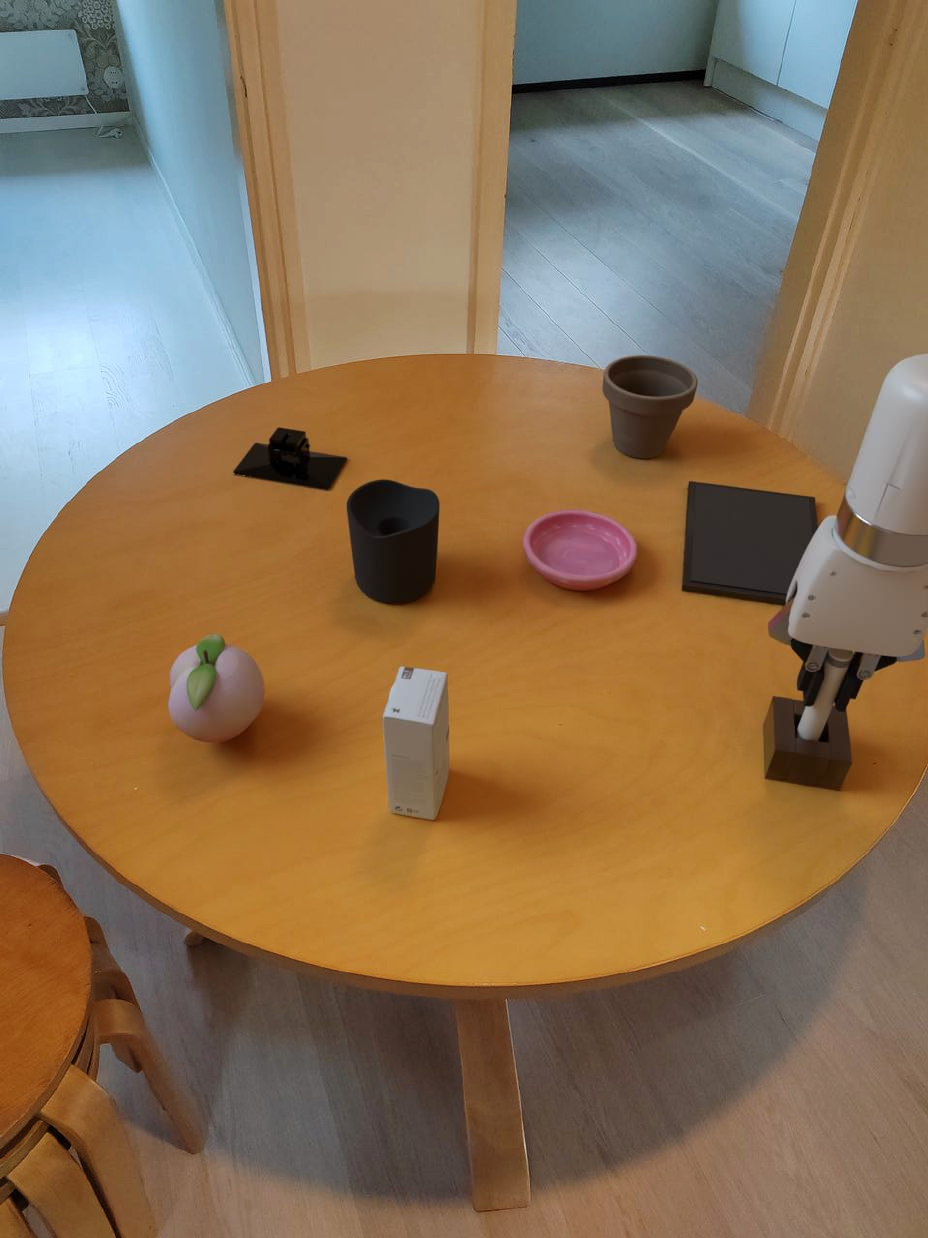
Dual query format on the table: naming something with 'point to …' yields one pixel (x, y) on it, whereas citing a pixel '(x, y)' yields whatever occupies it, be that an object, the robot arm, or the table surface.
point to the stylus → (825, 694)
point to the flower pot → (646, 401)
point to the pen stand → (805, 747)
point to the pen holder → (393, 540)
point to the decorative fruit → (215, 690)
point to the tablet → (745, 541)
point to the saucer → (579, 549)
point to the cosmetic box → (417, 742)
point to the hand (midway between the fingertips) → (822, 696)
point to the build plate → (291, 461)
